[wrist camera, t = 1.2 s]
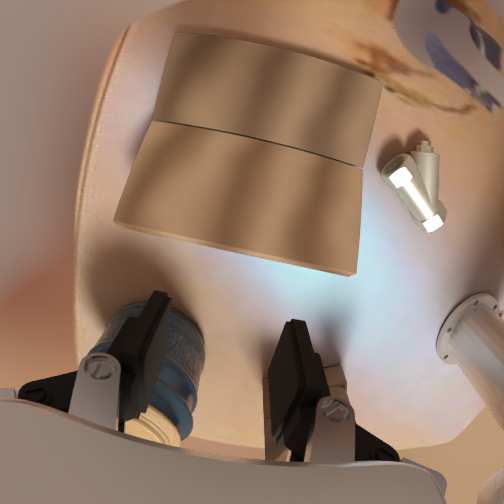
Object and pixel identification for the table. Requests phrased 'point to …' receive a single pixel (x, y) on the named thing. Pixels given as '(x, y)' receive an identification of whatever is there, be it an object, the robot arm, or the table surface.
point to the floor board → (269, 95)
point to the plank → (244, 197)
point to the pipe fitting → (418, 185)
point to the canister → (166, 378)
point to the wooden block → (272, 450)
